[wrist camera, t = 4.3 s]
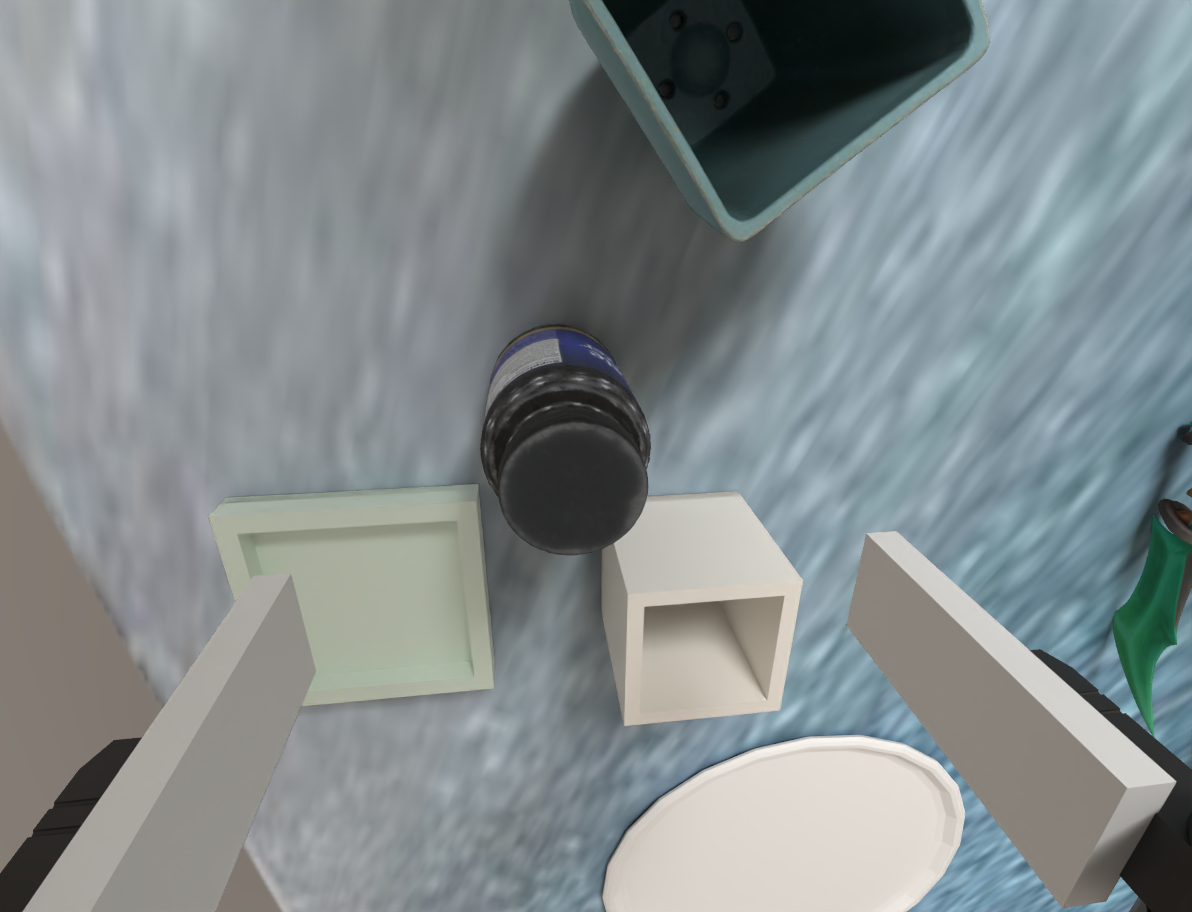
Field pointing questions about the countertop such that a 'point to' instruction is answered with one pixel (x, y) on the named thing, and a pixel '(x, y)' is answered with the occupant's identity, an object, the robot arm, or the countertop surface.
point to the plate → (794, 833)
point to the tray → (374, 584)
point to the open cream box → (698, 611)
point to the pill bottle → (564, 442)
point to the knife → (1156, 601)
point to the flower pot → (774, 87)
